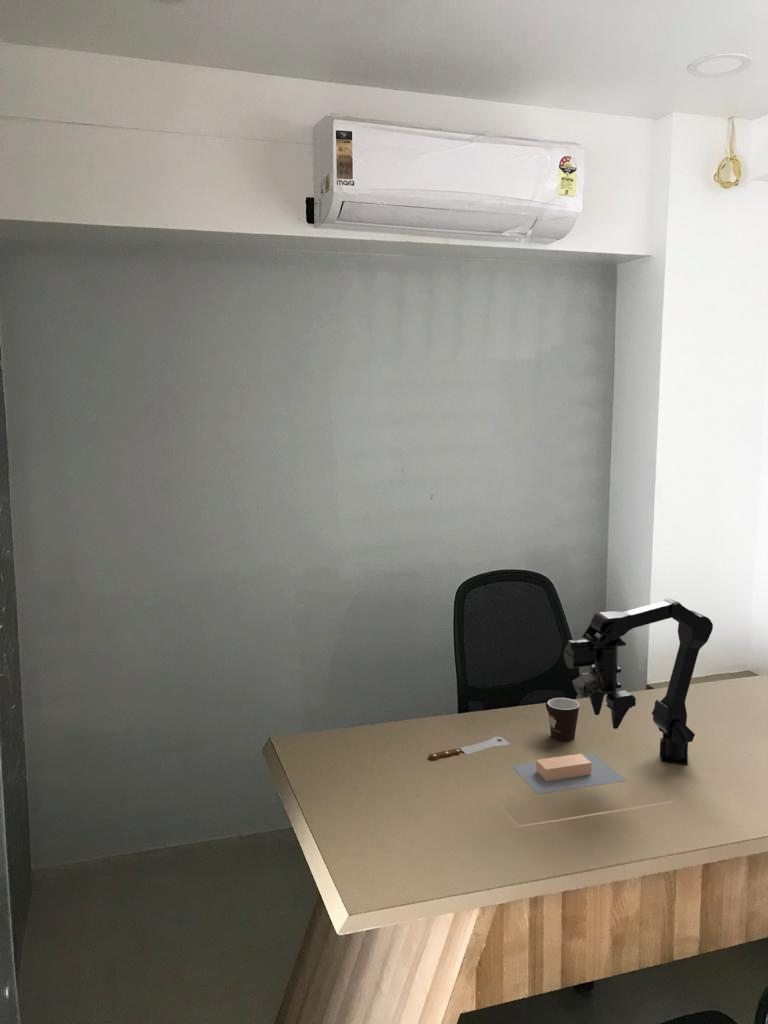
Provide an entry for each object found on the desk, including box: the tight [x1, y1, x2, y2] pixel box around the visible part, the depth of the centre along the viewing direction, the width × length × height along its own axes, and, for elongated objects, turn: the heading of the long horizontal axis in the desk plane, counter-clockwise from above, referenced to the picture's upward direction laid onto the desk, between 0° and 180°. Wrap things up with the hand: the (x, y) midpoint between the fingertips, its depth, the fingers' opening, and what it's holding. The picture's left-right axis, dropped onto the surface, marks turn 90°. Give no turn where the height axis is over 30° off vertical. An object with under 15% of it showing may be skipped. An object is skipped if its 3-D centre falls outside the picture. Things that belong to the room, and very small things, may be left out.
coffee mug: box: [545, 697, 580, 742], centre depth 243 cm, size 12×9×10 cm
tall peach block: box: [535, 753, 591, 781], centre depth 220 cm, size 3×6×12 cm
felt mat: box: [510, 753, 627, 795], centre depth 220 cm, size 24×16×1 cm, turn 105°
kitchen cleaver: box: [428, 736, 511, 761], centre depth 233 cm, size 24×1×10 cm
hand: (606, 721), depth 222 cm, fingers open, 9 cm apart
